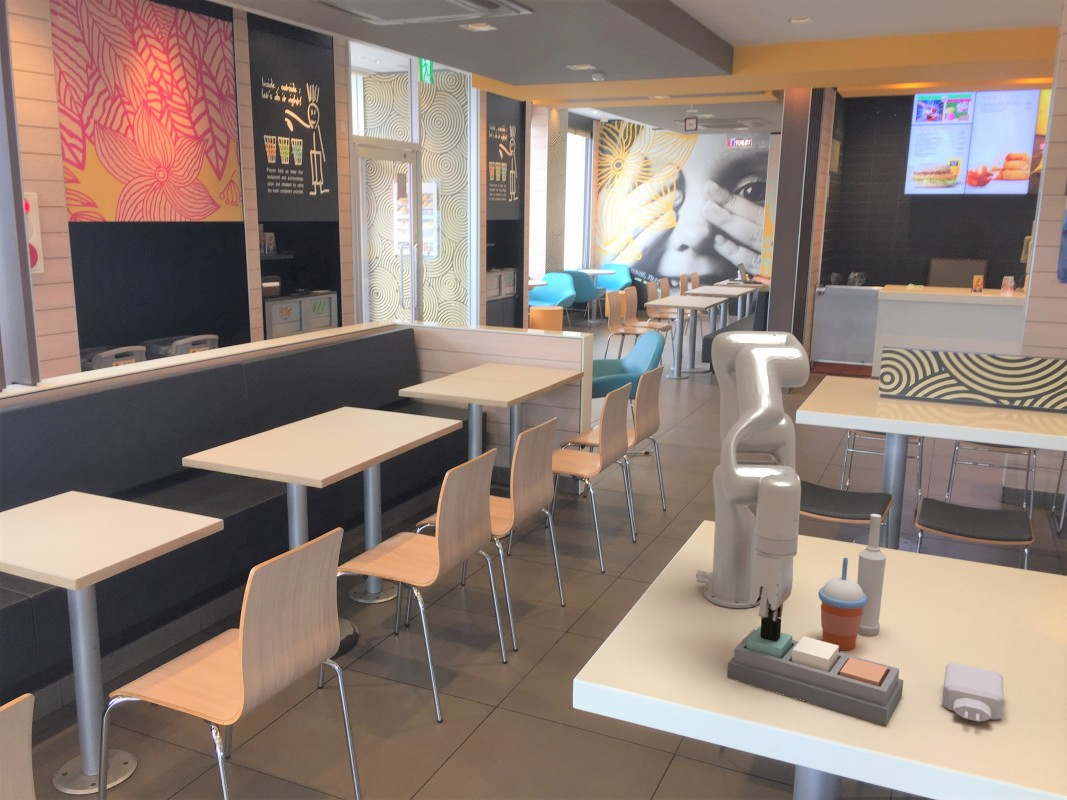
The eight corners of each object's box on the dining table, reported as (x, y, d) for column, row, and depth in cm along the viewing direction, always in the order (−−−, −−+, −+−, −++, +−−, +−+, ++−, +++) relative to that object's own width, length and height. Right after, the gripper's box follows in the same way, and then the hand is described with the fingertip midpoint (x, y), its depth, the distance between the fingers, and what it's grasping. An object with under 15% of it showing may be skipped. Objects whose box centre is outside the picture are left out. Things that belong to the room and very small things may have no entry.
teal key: (745, 654, 163) (746, 639, 162) (758, 641, 168) (759, 626, 167) (779, 664, 159) (780, 648, 158) (791, 650, 164) (792, 635, 164)
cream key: (791, 665, 158) (792, 649, 157) (802, 651, 163) (803, 636, 162) (827, 675, 154) (828, 659, 154) (837, 660, 159) (839, 645, 159)
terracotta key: (838, 687, 153) (840, 671, 153) (848, 672, 159) (850, 657, 158) (877, 698, 150) (878, 682, 149) (886, 682, 155) (887, 667, 154)
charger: (939, 725, 148) (943, 685, 161) (1001, 740, 144) (1000, 697, 157) (942, 699, 147) (946, 661, 160) (1004, 713, 143) (1003, 673, 156)
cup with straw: (862, 637, 179) (869, 553, 176) (863, 657, 171) (870, 569, 167) (815, 630, 182) (821, 547, 178) (814, 649, 173) (820, 563, 170)
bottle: (881, 637, 179) (892, 520, 174) (854, 635, 180) (864, 518, 175) (876, 626, 184) (887, 512, 179) (850, 624, 185) (860, 510, 180)
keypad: (727, 677, 162) (728, 649, 161) (750, 652, 172) (752, 626, 171) (885, 726, 147) (888, 695, 146) (902, 695, 157) (904, 667, 155)
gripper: (770, 528, 167) (764, 619, 171) (740, 551, 155) (735, 648, 159) (809, 536, 163) (803, 629, 166) (782, 559, 151) (776, 659, 154)
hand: (770, 638), depth 162 cm, fingers closed
